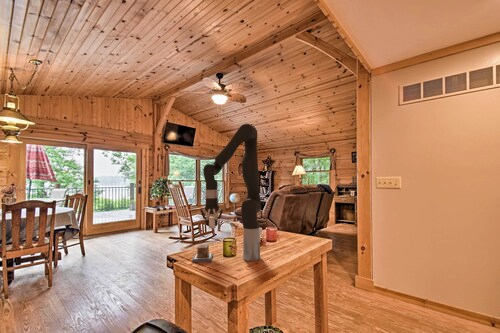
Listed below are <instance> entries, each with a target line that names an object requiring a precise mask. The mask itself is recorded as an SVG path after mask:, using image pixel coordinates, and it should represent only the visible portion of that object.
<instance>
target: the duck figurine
mask: <svg viewBox="0 0 500 333" xmlns="http://www.w3.org/2000/svg"><path fill="white" fill-rule="evenodd" d="M260 235H261V237H262V239H263V240H264V238H265V234H264V233H263V228H262V227H260Z"/></svg>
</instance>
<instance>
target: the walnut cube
mask: <svg viewBox="0 0 500 333" xmlns="http://www.w3.org/2000/svg"><path fill="white" fill-rule="evenodd" d="M209 247H210V244H198V246H197V248H196V250H197V251H196V252H197V258H208V255H209V253H210V251H209V250H210V248H209Z"/></svg>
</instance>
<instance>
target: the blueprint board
mask: <svg viewBox="0 0 500 333" xmlns="http://www.w3.org/2000/svg"><path fill="white" fill-rule="evenodd" d="M213 257H214V252H209V255H208V258H197V253H196V252H195V254H194V255H193V256H192V260H191V263H211V262H212V260H213Z"/></svg>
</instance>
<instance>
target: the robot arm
mask: <svg viewBox="0 0 500 333" xmlns="http://www.w3.org/2000/svg"><path fill="white" fill-rule="evenodd" d="M242 144H244V154H243V157H242V162H241V172H242V178H243V182H244V184H245V187H246V190H247V192H246V193H247V198H246V199H245V200H243V201H242V203H241V206H240V208H241V209H240V211H241V214H240V216H241V223H242V244H243V245H242V246H243V247H242V253H243V254H242V257H243V260H245V261H248V262H256V261H260V260H261V242H260V228H261V226H260V222H259V221H258V214H259V213H260V211H261V209H262V202H261V200H262V199H261V195H260V180H259V179H260V178H259V163H258V162H259V161H258V160H259V159H258V158H259V157H258V130H257V128H256V127H255V126H254V125H252V124H250V123H242V124H241V125H240V126H239V127H238V129H237V131H236V132H235V133H234V135H232V137H231V139H230V140H229V142H228V143H227V144H226V146H224V148H222V149H221V151H220V152H219V153H218V154H216V156H215V157H214V162H212V163H206V164H205V165H204V166H203V170H202V171H203V176H204V177H203V178H204V181H205V195H204V198H205V199H204V200H205V206H204V208H201V209H200V210H199V211H200V213H201V217H202V219H203V220H205V221H206V222H205V223H206V226H207V227H209V217H211V216H210V215H213V217H215V219H216V220H215V226H216V227H217V226H218V224H219V220H221V217H222V214H223V211H224V208H221V207H220V206H219V191H218V189H219V188H218V185H219V184H218V181H217V180H216V179H215V176H216V175H218V174H220V172H221V171H222V169H224V166H225V165H226V164H227V163H228V162H229V161H230V160H231V159H232V157H233V156H234V154H235V152H236V151H237V150H238V148H239V147H240V146H241V145H242ZM205 211H206V213H207V215H206V214H205ZM217 212H219V214H217Z"/></svg>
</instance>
